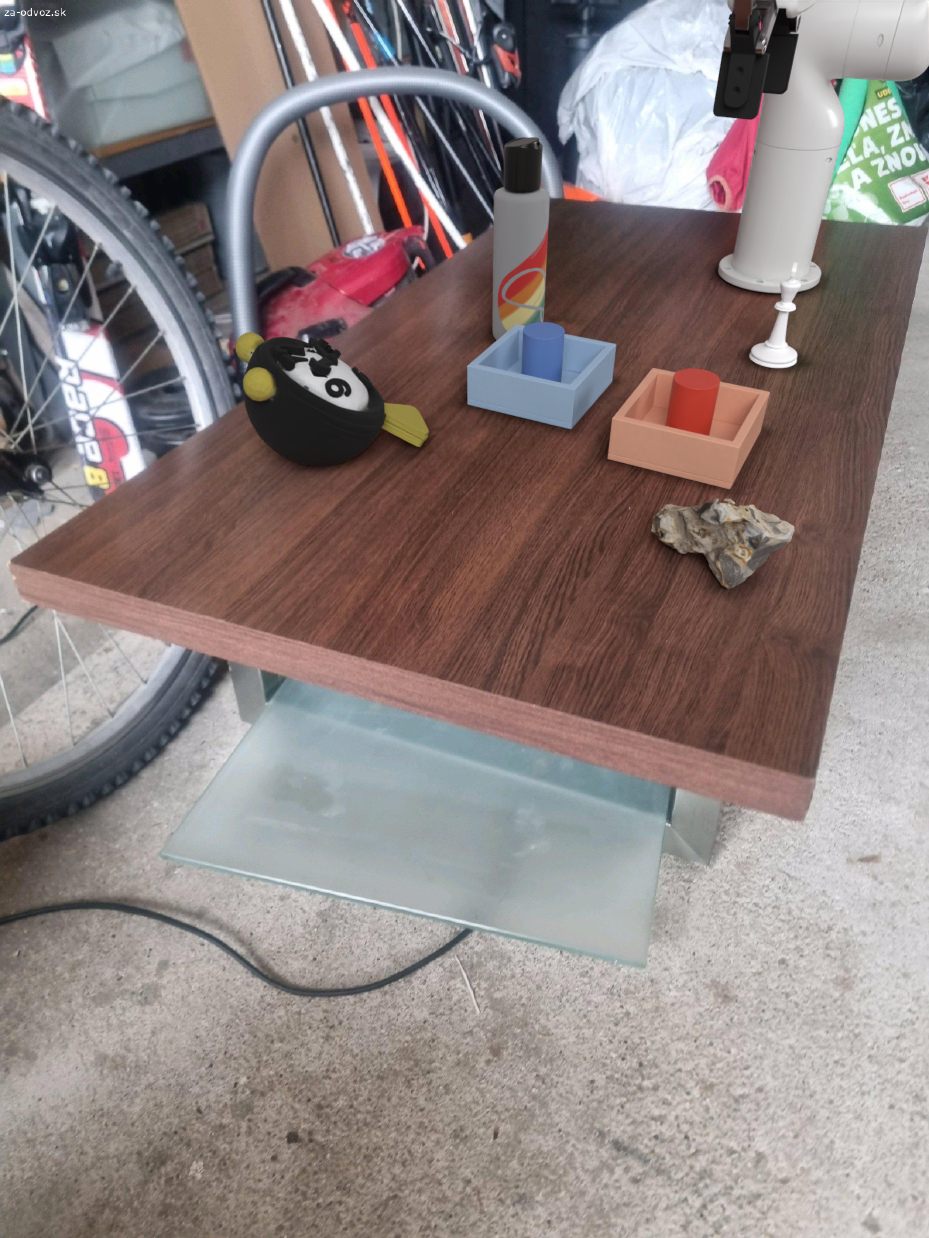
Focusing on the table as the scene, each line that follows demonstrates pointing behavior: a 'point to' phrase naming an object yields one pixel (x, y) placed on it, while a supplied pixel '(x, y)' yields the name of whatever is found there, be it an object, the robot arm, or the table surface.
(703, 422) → the red peg
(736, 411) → the orange bin
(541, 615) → the table surface
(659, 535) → the rock
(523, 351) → the blue peg
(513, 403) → the blue bin
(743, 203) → the robot arm
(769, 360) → the chess piece
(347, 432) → the alarm clock
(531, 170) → the lotion bottle
